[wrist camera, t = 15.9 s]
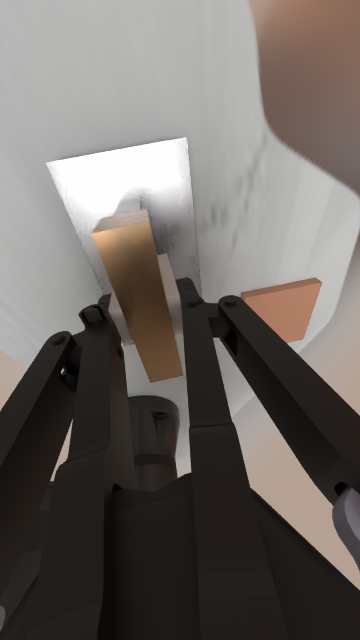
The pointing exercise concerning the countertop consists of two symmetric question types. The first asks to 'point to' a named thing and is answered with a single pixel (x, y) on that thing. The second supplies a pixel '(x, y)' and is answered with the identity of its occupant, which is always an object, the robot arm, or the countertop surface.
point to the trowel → (136, 235)
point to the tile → (285, 306)
